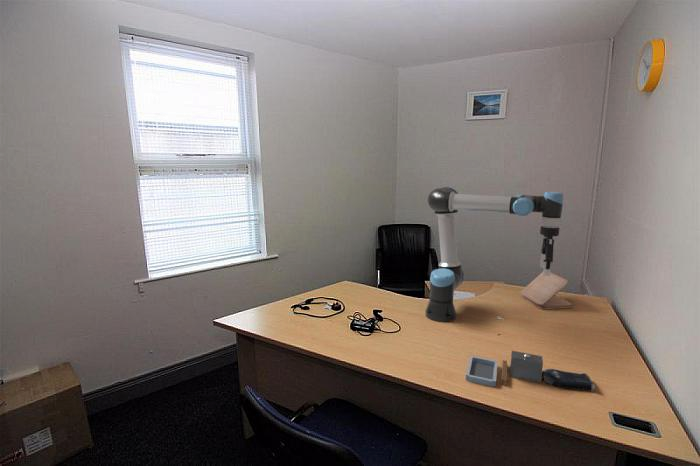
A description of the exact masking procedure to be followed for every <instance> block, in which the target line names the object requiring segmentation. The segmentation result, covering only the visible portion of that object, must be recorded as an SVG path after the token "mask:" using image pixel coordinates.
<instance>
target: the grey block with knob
mask: <svg viewBox="0 0 700 466" xmlns="http://www.w3.org/2000/svg"><path fill="white" fill-rule="evenodd" d="M543 366H544V360H543V356H542V355H537V354H532V353H526V352H522V351H515V350H511V356H510V367H509V377H510V378H513V379H517V380H523V381H526V382H532V383H536V384H537V383H538V384H541V383H542V371H543Z"/></svg>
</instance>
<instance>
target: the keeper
mask: <svg viewBox="0 0 700 466" xmlns="http://www.w3.org/2000/svg"><path fill="white" fill-rule="evenodd" d="M498 365H499V364H498V361H496V360H494V359H489V358H486V357H485V358H484V357H481V356H475V355H473V356H469V360H468V365H467V370H466V373H465V380H466V381H468V382H471V383H476V384H479V385H483V386H488V387H496V384H497V376H498V375H497V373H498Z"/></svg>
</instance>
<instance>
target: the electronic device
mask: <svg viewBox="0 0 700 466" xmlns="http://www.w3.org/2000/svg"><path fill="white" fill-rule="evenodd" d="M541 380H543V381H544V382H545V383H547V384H549V385H551V386H554V387H557V388H562V389H571V390H583V391H586V390H587V391H590V392H591V393H593V392H594V390H595V389H596V386H595V384H594V383H593V381H592V379H591V378H590V375H588V373H586V372H582V373H578V372H577V373H576V372H570V371H564V370H560V369H554V368H547V369H543V370H542V377H541Z"/></svg>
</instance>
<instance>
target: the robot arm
mask: <svg viewBox="0 0 700 466" xmlns="http://www.w3.org/2000/svg"><path fill="white" fill-rule="evenodd" d="M427 204H428V206H429V208H430V209H432V210H433V211H434V215H435V216H437V221H438V233H439V234H438V235H439V248H440V262H439V263H438V268H437V269H433V270H432V271H431V273H430V277H429V281H430V282H429V301H428V303H427V306H426V308H425V317H427V318H428V319H429V320H432V321H436V322H442V323H443V322H444V323H445V322H447V323H448V322H451V321H454V320H456V318H457V312H456V309H455V308H456V307H455V305H454V293H455V290H456V289H457V288H458V287H460V286H461V285H462V284H463V282H464V280H465V272H464V269H463V268H462V263H461V262H460V261H459V258H458V245H457V228H456V215H457V214H458V211H468V212H481V213H482V212H483V213H493V214H494V213H496V214H509V215H510V214H511V215H518V216H519V217H520V216H522V217H524V216H528V215H530V214H531V213H542V214H541V221H540V225H541V226H540V229H539V230H540V231H539V234H540V235H541V236H543V238H542V245H541V250H540V252H541V256H540V263H539V265H540V266H539V267H540V268H542V269H543V271H542V272H543V276H550V273H552V271H551V270H552V264H553V262H554V259H553V258H554V244H555V240H554V238H553V237H558V236H559V235H560V226H561V223H562V222H563V220H562V219H561V218H562V211H563V206H564V194H563V193H562V192H560V191H546V192H544V194H543V195H528V194H527V195H526V194H517V195H515V196H502V195H501V196H500V195H485V194H483V195H482V194H464V193H459V192H458V191H457V190H456V189H455V188H454V187H449V186H444V187H438V188H435V189H433V190H431V192H429V194H428V197H427Z"/></svg>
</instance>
